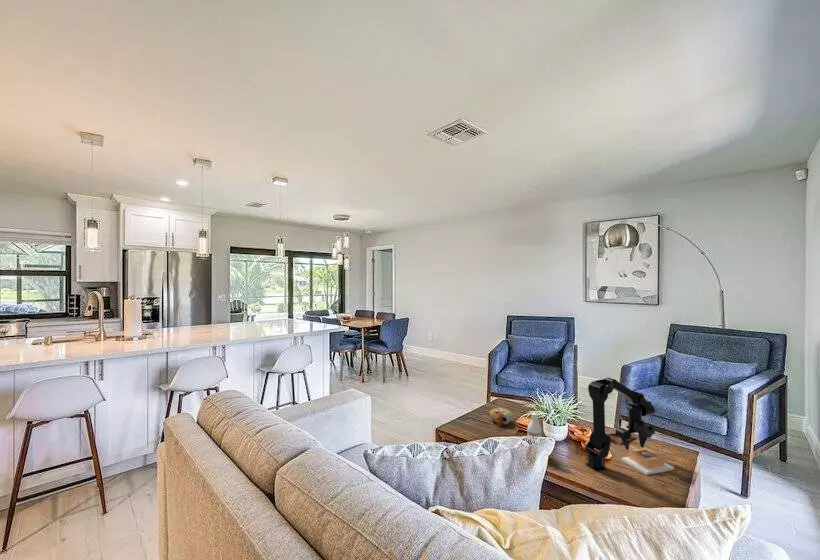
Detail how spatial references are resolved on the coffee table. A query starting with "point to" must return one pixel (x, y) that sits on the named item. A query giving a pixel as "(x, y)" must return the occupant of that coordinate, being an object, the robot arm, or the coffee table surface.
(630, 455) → the orange link
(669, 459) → the coffee table surface
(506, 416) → the nautilus
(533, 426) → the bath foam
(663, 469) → the board
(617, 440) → the sunglasses case
